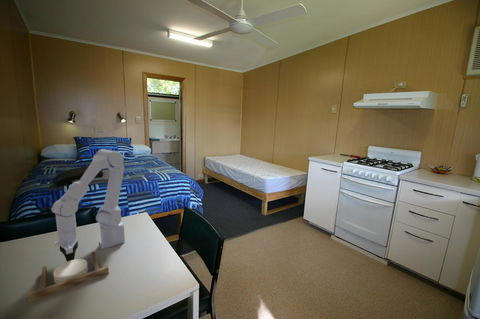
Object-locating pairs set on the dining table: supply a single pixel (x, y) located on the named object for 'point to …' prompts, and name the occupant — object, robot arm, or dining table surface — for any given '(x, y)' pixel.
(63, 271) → the white round dish
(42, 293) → the walnut bay
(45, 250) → the dining table surface
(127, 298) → the dining table surface
